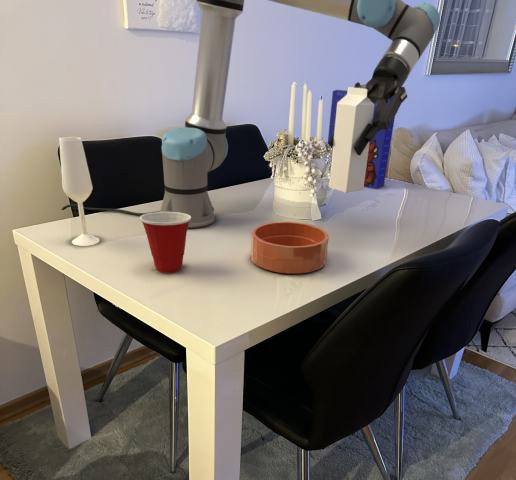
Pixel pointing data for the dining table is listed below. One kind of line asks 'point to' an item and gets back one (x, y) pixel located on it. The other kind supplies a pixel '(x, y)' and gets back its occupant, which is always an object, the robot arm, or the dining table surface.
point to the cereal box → (376, 147)
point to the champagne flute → (76, 181)
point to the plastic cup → (166, 238)
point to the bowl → (289, 247)
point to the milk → (350, 141)
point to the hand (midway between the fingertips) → (344, 148)
